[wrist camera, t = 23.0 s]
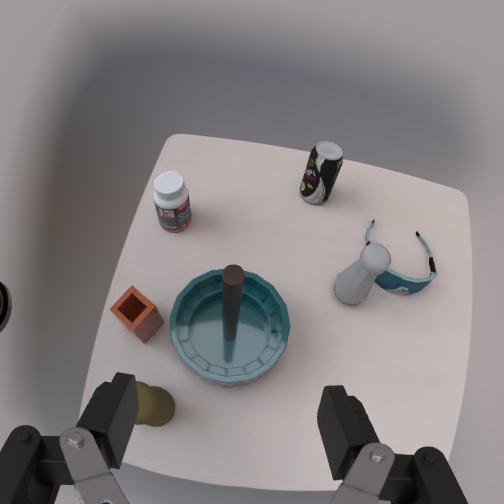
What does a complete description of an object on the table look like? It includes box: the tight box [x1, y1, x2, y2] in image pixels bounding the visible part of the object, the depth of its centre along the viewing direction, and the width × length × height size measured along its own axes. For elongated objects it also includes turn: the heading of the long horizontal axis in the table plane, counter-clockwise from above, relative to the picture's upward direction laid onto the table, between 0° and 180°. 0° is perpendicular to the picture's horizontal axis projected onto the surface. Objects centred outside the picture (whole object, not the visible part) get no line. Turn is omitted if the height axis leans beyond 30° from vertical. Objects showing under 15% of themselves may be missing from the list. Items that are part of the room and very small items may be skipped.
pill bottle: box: [153, 171, 191, 232], centre depth 51 cm, size 6×6×10 cm
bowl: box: [170, 269, 290, 387], centre depth 44 cm, size 16×16×6 cm
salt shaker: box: [335, 243, 391, 304], centre depth 46 cm, size 6×6×13 cm
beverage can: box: [300, 141, 343, 204], centre depth 56 cm, size 6×6×12 cm
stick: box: [222, 265, 245, 340], centre depth 37 cm, size 2×2×20 cm
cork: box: [135, 381, 175, 427], centre depth 35 cm, size 6×6×11 cm
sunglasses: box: [366, 219, 437, 295], centre depth 54 cm, size 14×15×5 cm
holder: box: [110, 286, 164, 344], centre depth 43 cm, size 5×5×7 cm
